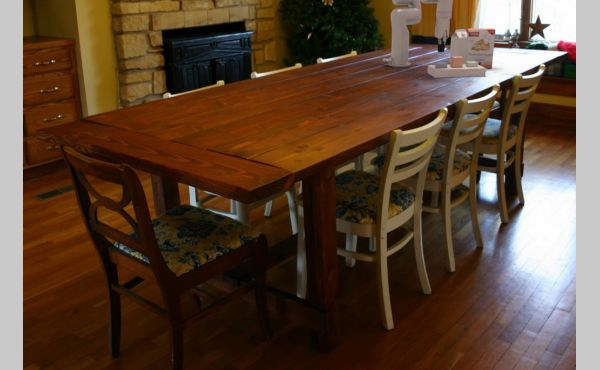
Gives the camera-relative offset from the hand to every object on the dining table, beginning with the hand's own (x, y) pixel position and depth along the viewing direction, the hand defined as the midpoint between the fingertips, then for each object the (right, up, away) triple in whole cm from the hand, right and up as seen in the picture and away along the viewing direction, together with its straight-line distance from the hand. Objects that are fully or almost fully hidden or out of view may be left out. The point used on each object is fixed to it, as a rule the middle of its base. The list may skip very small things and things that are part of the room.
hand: (440, 51), depth 317 cm
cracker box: (+25, -4, +22) cm, 34 cm away
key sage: (+17, -10, +4) cm, 20 cm away
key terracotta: (+9, -7, +2) cm, 11 cm away
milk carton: (+18, +1, +36) cm, 41 cm away
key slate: (+1, -10, +3) cm, 11 cm away
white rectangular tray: (+9, -11, +4) cm, 14 cm away
